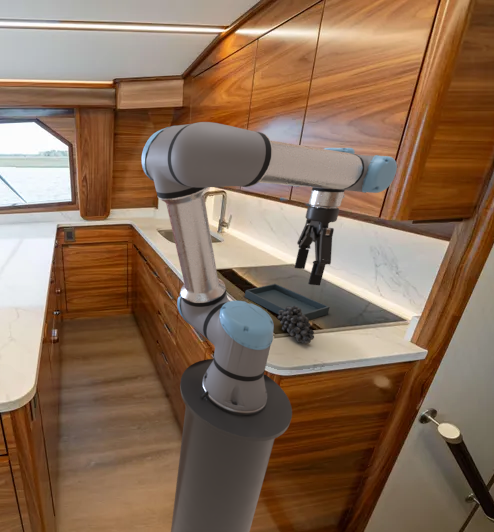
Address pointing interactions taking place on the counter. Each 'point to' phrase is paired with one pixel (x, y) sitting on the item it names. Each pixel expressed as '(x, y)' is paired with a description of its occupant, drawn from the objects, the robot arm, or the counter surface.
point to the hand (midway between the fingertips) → (306, 275)
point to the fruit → (296, 324)
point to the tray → (285, 300)
